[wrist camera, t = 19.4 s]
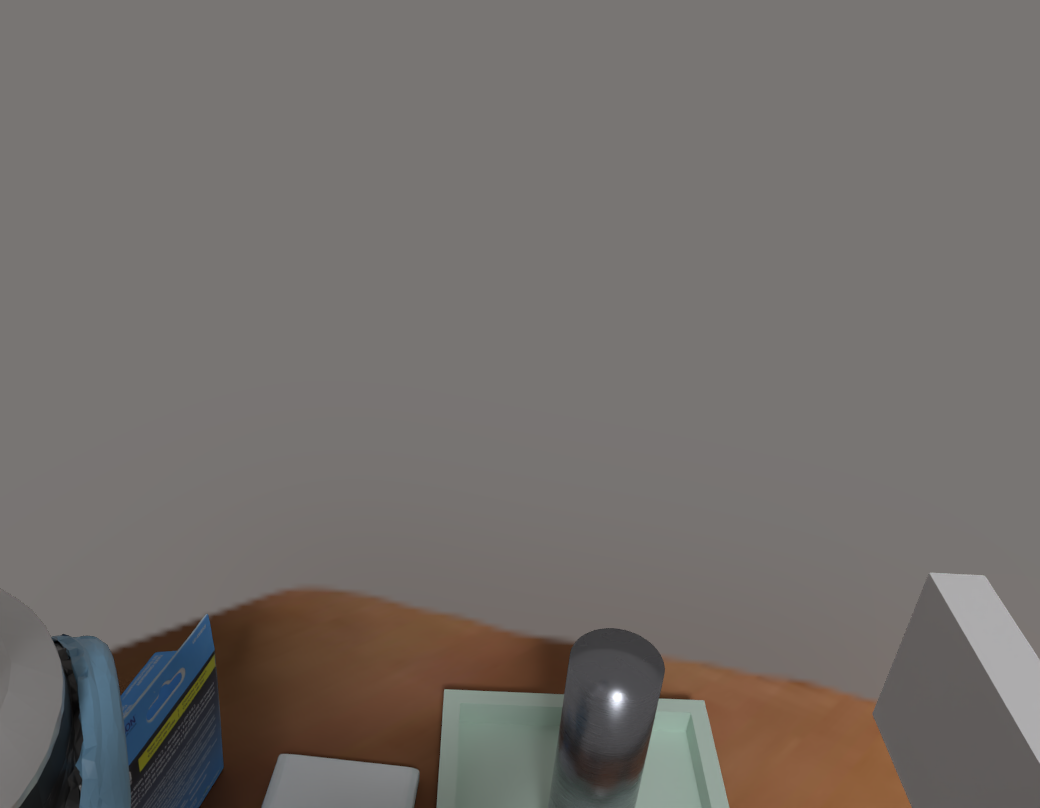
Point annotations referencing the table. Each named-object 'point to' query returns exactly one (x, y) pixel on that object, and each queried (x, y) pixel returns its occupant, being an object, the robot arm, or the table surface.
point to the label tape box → (174, 725)
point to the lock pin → (606, 720)
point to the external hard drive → (339, 784)
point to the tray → (532, 749)
